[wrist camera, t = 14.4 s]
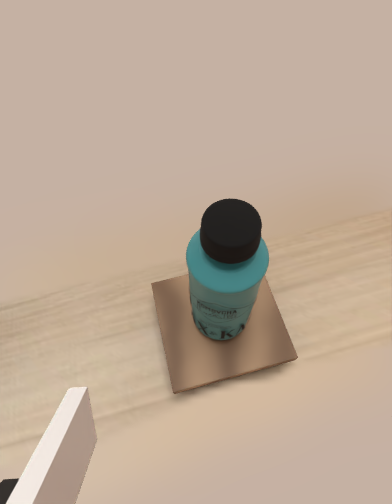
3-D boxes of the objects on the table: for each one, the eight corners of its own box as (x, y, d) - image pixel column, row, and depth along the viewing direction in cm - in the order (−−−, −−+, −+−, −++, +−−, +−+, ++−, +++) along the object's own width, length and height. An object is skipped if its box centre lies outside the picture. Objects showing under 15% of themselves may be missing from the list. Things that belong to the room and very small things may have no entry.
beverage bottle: (191, 293, 39) (177, 181, 22) (245, 291, 39) (275, 177, 22) (192, 347, 36) (176, 267, 19) (251, 345, 36) (291, 263, 18)
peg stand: (177, 397, 39) (173, 392, 34) (157, 299, 45) (151, 283, 40) (287, 366, 40) (297, 357, 35) (252, 275, 46) (257, 257, 41)
